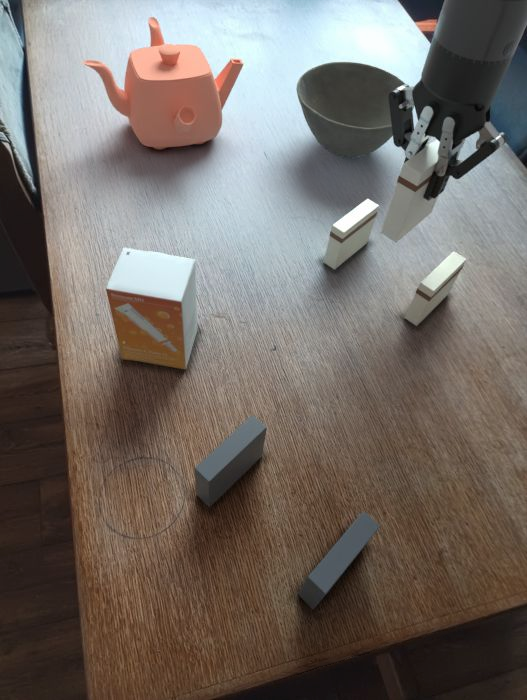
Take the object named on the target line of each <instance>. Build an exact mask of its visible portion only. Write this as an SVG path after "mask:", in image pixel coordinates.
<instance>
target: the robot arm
mask: <svg viewBox="0 0 527 700" xmlns="http://www.w3.org/2000/svg"><path fill="white" fill-rule="evenodd" d="M526 28H527V0H444V1H443V4H442V7H441V11H440V12H439V14H438V16H437V20H436V26H435V30H434V33H433V35H432V36H433V37H432V39H431V42H430V46H429V48H428V52H427V55H426V58H425V61H424V64H423V68H422V71H421V78H420V80H419V81H418V82H417V83H416V84H415V85H414V86H410V85H409V84H408V83H405V84H403V85H401V86H399V87H398V88H396V89H394V90H393V91H392V92H390V93H389V95H388V99H389V107H390V116H391V124H392V133H393V136H392V141H393V144H394V146H395V147H397V148H401V149H402V150H403V151H404V156H405V157H404V161H403V164H404V163H405V162H406V161H408V160H409V159H410V158H412V157H413V156H414V155H416V154H417V153H419V152H420V151H421V150H423V149H424V148H425V147H427V146H428V145H429V142H430V141H431V139H432V138H435V140H436V139H437V140H438V141H439V142H440V144H439V148H438V152H437V154H438V155H439V157H438V161H437V165H436V169H435V171H434V172H433V173H432V176H431V179H430V181H429V184H428V186H427V189H426V191H425V194H424V196H423V198H424V199H426V200H428V201H429V200H431V199H432V198H434V199H435V198H436V197H437V196H438V195H439V196H440V195H441V194H442V193H443V192H444V191H445V189H446V186H447V184H448V182H449V179H450V177H452V178H453V179H454V180H460V179H461V178H462V177H464V176H465V175H466V174H468V173H469V172H470V171H472V170H473V169H474V168H475V167H477V166H478V165H479V164H481V163H482V162H483V161H485V160H486V159H487V158H489V157H490V156H491V155H493V154H494V153H495V152H497V151H498V150H499V149H500V148H501V147H502V146H504V144H506V143H507V142H508V135H507V134H506V133H505V132H503V131H502V132H497V131H496V129H495V128H494V127H493V125H492V124H491V120H492V119H491V118H492V111H491V110H492V105H493V101H494V100H495V98H496V96H497V93H498V91H499V89H500V87H501V84H502V83H503V80H504V77H505V75H506V73H507V71H508V69H509V67H510V64H511V62H512V59H513V57H514V55H515V53H516V51H517V48H518V46H519V44H520V41H521V39H522V37H523V35H524V32H525V30H526ZM413 104H414V110H415V113H416V118H417V122H416V125H415V123H414V113H413V111H412V106H413ZM476 133H478V134H479V135H478V138H477V140H476V142H475V149H476V150H475V151H474V152H473V153H471V154H470V155H468V157H466V158H465V159H464V160H463V159H462V160H461V159H459V157H460V152H461V150H462V148H463V147H464V144H465V141H466V139H467V138H469V137H470V136H471V137H472V135H474V134H476ZM439 196H438V197H439Z"/></svg>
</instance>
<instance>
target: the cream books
mask: <svg viewBox="0 0 527 700" xmlns="http://www.w3.org/2000/svg"><path fill="white" fill-rule="evenodd" d="M379 207H380V205H379V204H377V203H376V202H374V201H373V200H371V199H369V198H366V199H365V200H364V201H362V202H361V203H360V204H359V205H357V206H355V207H354V208H353V209H352V210H350V211H348V213H346V214H345V215H344V216H342V217H341V218H340V219H339V220H336V222H335V223H333V224H332V225H331V229H330V232H329V238H328V242H327V246H326V251H325V254H324V259H323V263H324V264H325V265H327V266H328V267H330V268H331V269H332V270H336V269H337V268H338V267H340V266H341V265H342V264H343V263H345V262H346V261H347V260H348V259H350V258H351V257H352V256H353V255H354V254H356V253H357V252H358V251H360V250H361V249H362V248H363V247H364V246H365V245H367V244H368V243H369V239H370V236H371V233H372V231H373V230H372V229H373V227H374V224H375V220H376V217H377V215H378V210H379ZM466 262H467V258H465V257H464V256H462V255H460V254H459V253H457V252H456V251H452V252H451V253H450V254H449V255H448V256H447V257H446V258H445V259H444V260H442V261H441V262H440V263H439V264H438V265H437V266H436V267H435V268H434V269H433V270H432V271H431V272H430V273H429V274H428V275H427V276H426V277H425V278H424V279H422V280H421V281H420V282H419V284H418V286H417V288H416V290H415V294H414V296H413V298H412V300H411V302H410V304H409V307H408V309H407V311H406V314H405V315H404V317H403V318H404V319H406V320H407V321H408V322H410V323H411V324H412V325H414V326H416V327H418V326H419V325H420V324H421V323H422V322H423V321H424V320H425V318H427V317H428V315H430V314H431V313H432V311H433V310H435V309H436V307H438V305H439V304H441V302H442V301H443V300H444V299H445V298H446V297H447V296H448V295H449V293H450V291H451V289H452V288H453V286H454V284H455V282H456V280H457V279H458V277H459V275H460V273H461V271H462V270H463V268H464V266H465V264H466Z"/></svg>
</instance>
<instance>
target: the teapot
mask: <svg viewBox="0 0 527 700" xmlns="http://www.w3.org/2000/svg"><path fill="white" fill-rule="evenodd" d="M147 22H148V28H149V35H150V46H146V47H141V48H137V49H133V50H131V51H130V53H129V55H128V58H127V64H126V70H125V75H124V85H123V86H124V88H123V89H122V88H120V87H119V86H118V85H117V83H116V80H115V77H114V75H113V72H112V71H111V69H110V67H109V66H107V64H105V63H103V62H102V61H98V60H90V59H89V60H88V59H87V60H83V61H82V64H83V65H84V66H86V67H89V68H90V69H92V70H94V71H95V72H96V73H97V74H98V75H99V77H100V79H101V81H102V83H103V85H104V88H105V92H106V94H107V97H108V100H109V102H110V103H111V105H112V107H113V108H114V109H115V111H117V112H118V113H119V114H120V115H122V116H124V117H127V120H128V121H129V124H130V126H131V129H132V130H133V132H134V135H135V136H136V138H137V139H138V141H139V143H140V144H142V145H143V146H146V147H149V148H154V149H155V150H165V149H166V148H176V147H184V146H190V145H202V144H205V143H206V142H207V141H212V140H214V139H215V138H216V137H217V136H218V134H219V132H220V131H221V128H222V126H223V109H224V107H225V105H226V103H227V100H228V98H229V96H230V94H231V92H232V91H233V88H234V86H235V84H236V81H237V79H238V77H239V75H240V73H241V71H242V69H243V66H244V62H243V60H242V59H241V58H230V59H229V61H228V62H227V64H226V65H225V66H224V67H223V68H222V69H221V71H220V72H219V74H218V75H217V76H216V77H214V74H213V71H212V68H211V66H210V63H209V61H208V59H207V57H206V55H205V54H204V52H203V50H202V49H201V48H200V47H199V46H198V45H194V44H185V43H184V44H183V43H182V44H179V43H178V44H175V43H166V42H165V40H164V36H163V33H162V28H161V25H160V23H159V21H158V20H157V18H155V17H153V16H150V17H148V21H147Z"/></svg>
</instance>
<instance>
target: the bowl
mask: <svg viewBox="0 0 527 700" xmlns="http://www.w3.org/2000/svg"><path fill="white" fill-rule="evenodd" d="M403 84H406V83H405V82H404V81H403V80H401V79H400V78H399V77H398V76H397V75H394V74H393V73H391V72H389V71H387V70H384V69H383V68H380V67H377V66H373V65H370V64H365V63H362V62H360V63H359V62H352V61H332V62H331V61H330V62H325V63H323V64H319V65H317V66H313V67H312V68H310V69H308V70H307V71H306V72H304V73H303V74H302V75H301V76H300V77H299V79H298V81H297V83H296V95H297V98H298V102H299V105H300V107H301V111H302V114H303V117H304V119H305V122H306V124H307V126H308V128H309V130H310V131H311V133H312V135H313V136H314V138H315V140H316V142H318V143H319V145H321V146H322V147H323V148H324V149H325V150H327V152H329V153H331V154H332V155H335V156H338V157H341V158H344V159H345V158H346V159H355V158H359V157H363V156H367V155H369V154H371V153H373V152H375V151H377V150H379V149H380V148H381V147H383V146H384V145H385V144H386V143H388V141H390V139H391V138H393V133H392V124H391V116H390V107H389V99H388V95H389V93H390V92H392V91H393V90H394V89H396V88H398V87H399V86H401V85H403ZM414 109H415V106H414V104H413V106H412V112H413V111H414Z"/></svg>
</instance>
